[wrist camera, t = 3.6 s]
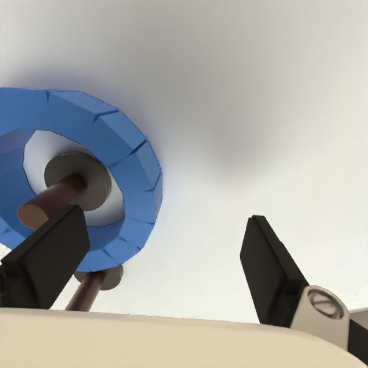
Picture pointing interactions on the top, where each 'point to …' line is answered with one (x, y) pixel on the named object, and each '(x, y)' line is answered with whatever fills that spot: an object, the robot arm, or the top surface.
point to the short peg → (67, 188)
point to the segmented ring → (100, 147)
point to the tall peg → (93, 287)
